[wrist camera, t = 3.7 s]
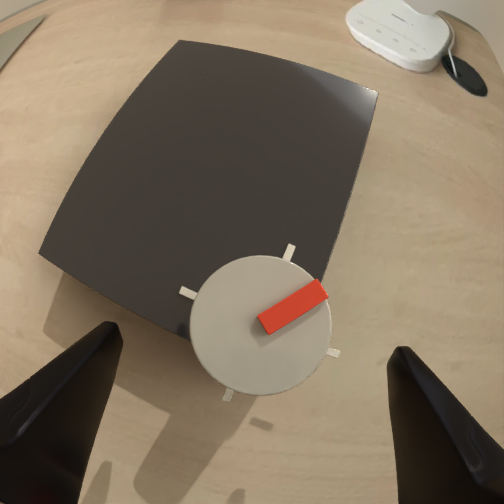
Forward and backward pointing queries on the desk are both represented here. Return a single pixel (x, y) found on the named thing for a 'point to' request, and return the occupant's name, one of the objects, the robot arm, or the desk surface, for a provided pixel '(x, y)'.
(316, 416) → the desk surface
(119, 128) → the hob panel
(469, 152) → the desk surface
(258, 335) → the stove knob
